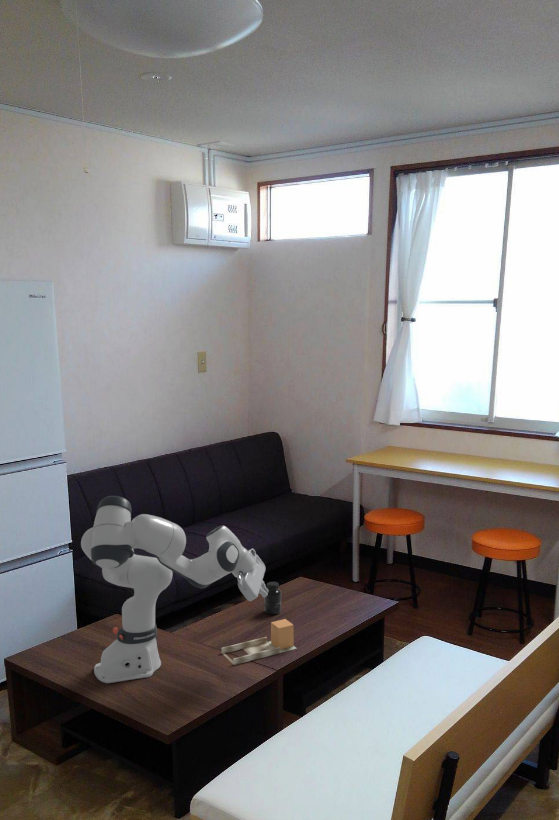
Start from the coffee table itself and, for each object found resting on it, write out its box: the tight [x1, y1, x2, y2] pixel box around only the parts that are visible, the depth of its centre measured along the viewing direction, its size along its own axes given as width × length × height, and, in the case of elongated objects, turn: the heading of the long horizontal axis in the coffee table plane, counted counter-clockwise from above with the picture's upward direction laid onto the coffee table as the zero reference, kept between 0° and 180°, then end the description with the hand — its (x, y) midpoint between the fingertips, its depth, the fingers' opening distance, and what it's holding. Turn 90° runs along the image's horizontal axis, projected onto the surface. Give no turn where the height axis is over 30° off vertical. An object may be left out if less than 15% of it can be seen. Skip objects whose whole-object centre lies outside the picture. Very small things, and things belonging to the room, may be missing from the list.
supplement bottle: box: [264, 581, 282, 616], centre depth 288 cm, size 7×7×12 cm
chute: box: [221, 636, 298, 666], centre depth 250 cm, size 25×10×4 cm, turn 119°
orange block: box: [270, 618, 295, 650], centre depth 254 cm, size 6×6×8 cm
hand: (266, 594), depth 244 cm, fingers closed
